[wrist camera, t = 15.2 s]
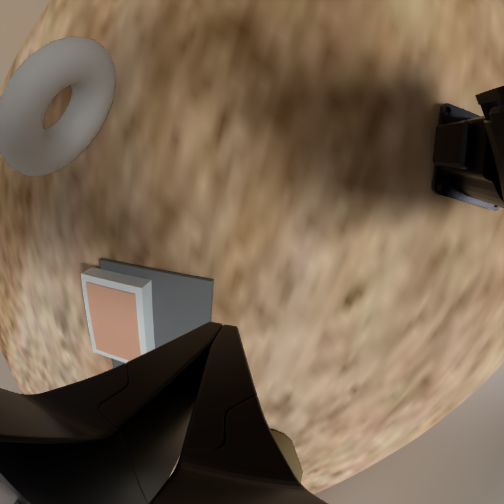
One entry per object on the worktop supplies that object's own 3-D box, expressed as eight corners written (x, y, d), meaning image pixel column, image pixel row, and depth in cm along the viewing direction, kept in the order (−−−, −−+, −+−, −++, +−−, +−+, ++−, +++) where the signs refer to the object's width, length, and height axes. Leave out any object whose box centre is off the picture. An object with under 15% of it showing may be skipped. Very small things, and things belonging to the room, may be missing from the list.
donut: (90, 177, 21) (-7, 197, 12) (65, 159, 21) (-29, 172, 12) (146, 63, 18) (56, 22, 8) (115, 51, 18) (27, 16, 8)
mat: (213, 279, 22) (212, 281, 22) (207, 407, 26) (206, 410, 26) (101, 258, 23) (99, 259, 23) (118, 381, 28) (117, 383, 27)
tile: (148, 371, 23) (92, 352, 24) (155, 359, 25) (101, 343, 26) (141, 288, 21) (79, 274, 21) (151, 279, 22) (91, 267, 23)
